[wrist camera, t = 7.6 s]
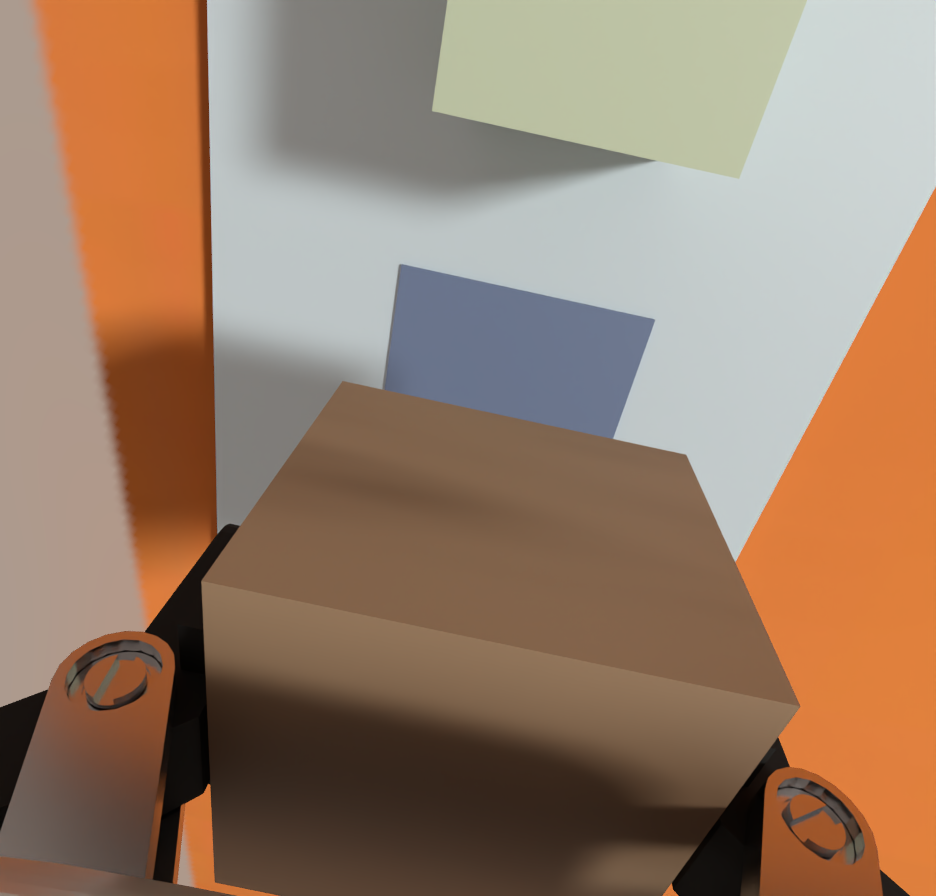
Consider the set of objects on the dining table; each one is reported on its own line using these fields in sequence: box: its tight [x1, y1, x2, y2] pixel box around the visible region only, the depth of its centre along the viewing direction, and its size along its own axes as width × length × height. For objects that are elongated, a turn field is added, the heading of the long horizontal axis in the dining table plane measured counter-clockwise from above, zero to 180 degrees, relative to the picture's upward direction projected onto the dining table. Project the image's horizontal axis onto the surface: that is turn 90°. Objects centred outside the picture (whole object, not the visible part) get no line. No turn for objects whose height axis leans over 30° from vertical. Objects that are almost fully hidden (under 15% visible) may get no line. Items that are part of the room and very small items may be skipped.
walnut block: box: [201, 381, 800, 896], centre depth 10 cm, size 6×6×5 cm
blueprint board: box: [207, 0, 936, 561], centre depth 19 cm, size 28×18×1 cm, turn 169°
